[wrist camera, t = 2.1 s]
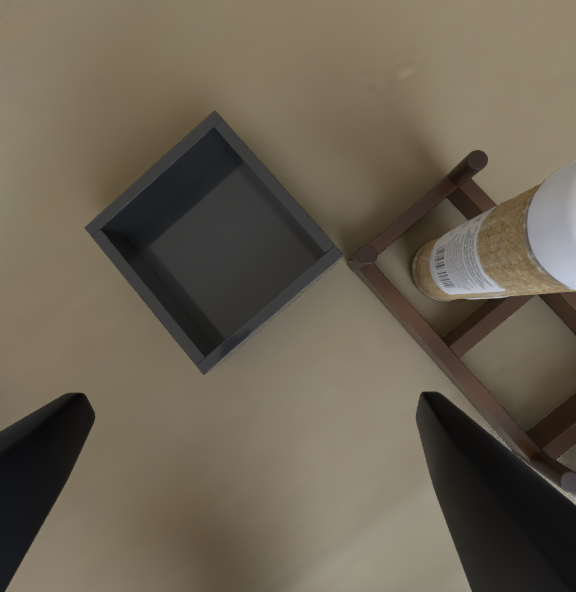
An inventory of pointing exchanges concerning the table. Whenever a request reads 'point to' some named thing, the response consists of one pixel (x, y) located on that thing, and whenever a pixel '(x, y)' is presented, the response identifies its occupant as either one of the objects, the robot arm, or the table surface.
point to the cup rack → (476, 328)
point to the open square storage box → (213, 243)
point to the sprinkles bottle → (507, 247)
